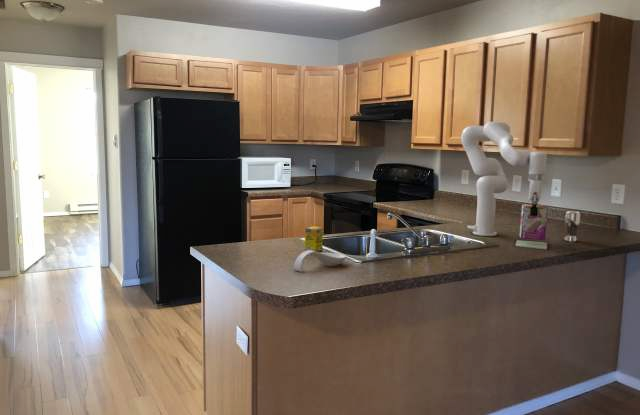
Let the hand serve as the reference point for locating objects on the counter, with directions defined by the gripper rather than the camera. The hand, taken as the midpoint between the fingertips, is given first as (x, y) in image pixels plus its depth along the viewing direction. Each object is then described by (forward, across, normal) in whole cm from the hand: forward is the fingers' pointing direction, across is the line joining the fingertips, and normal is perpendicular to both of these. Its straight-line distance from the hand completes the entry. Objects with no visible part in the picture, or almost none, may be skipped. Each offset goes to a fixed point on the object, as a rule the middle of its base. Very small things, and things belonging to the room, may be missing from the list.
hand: (533, 214), depth 248 cm
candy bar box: (+12, 0, 0) cm, 12 cm away
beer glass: (+16, -22, +18) cm, 32 cm away
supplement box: (+15, +64, -88) cm, 110 cm away
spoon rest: (+16, +86, -75) cm, 115 cm away
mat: (+15, 0, 0) cm, 15 cm away
